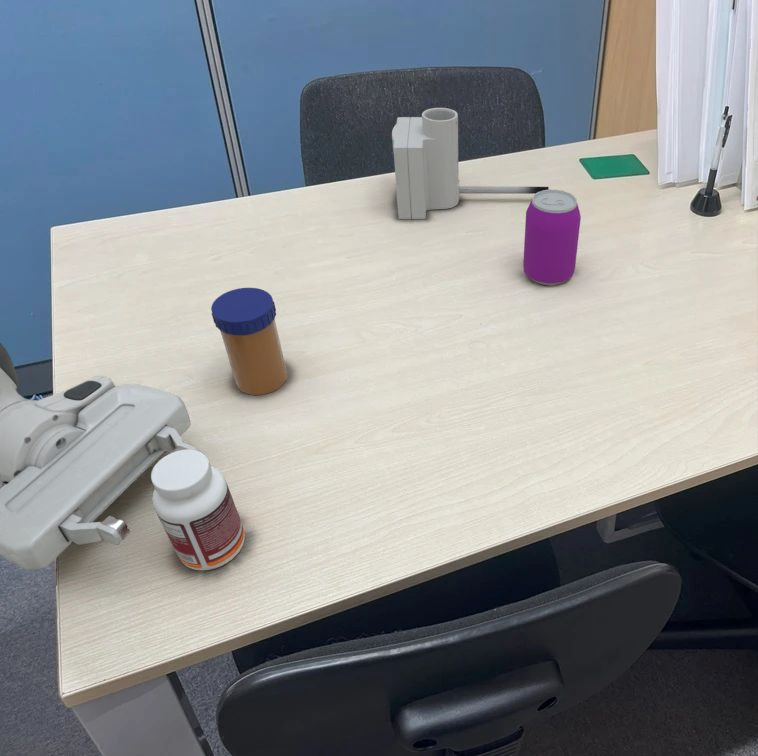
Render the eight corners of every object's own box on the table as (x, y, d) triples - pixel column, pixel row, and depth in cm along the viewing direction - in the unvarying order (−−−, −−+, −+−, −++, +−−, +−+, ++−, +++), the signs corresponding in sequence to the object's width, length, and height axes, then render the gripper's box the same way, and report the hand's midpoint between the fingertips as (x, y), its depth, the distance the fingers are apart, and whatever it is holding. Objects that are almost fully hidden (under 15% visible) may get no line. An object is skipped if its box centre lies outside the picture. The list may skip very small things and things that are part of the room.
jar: (252, 402, 82) (232, 330, 75) (226, 377, 85) (204, 306, 78) (297, 379, 85) (281, 308, 78) (270, 356, 88) (253, 285, 81)
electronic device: (398, 185, 124) (392, 99, 114) (543, 185, 126) (550, 101, 116) (394, 219, 115) (387, 129, 105) (551, 219, 117) (558, 130, 107)
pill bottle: (247, 514, 70) (221, 438, 63) (244, 566, 66) (216, 491, 58) (181, 524, 69) (147, 447, 62) (173, 578, 64) (135, 502, 57)
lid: (233, 343, 76) (229, 330, 74) (203, 316, 79) (199, 303, 78) (287, 318, 79) (284, 305, 78) (256, 293, 83) (253, 280, 81)
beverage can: (575, 262, 107) (584, 189, 99) (572, 290, 101) (580, 215, 93) (526, 257, 108) (530, 184, 100) (519, 285, 102) (523, 210, 94)
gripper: (-74, 511, 58) (55, 565, 55) (111, 364, 73) (223, 400, 69) (-38, 556, 62) (84, 608, 59) (130, 408, 77) (237, 444, 73)
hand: (160, 494), depth 64 cm, fingers open, 8 cm apart
